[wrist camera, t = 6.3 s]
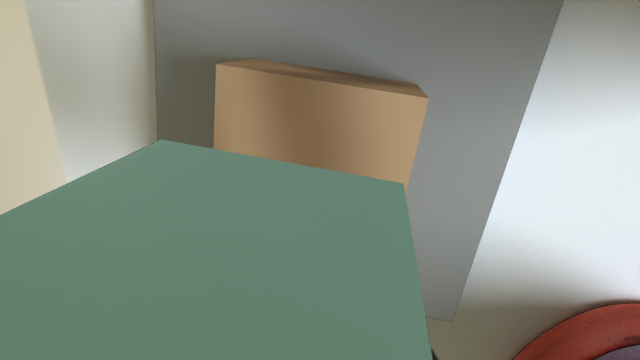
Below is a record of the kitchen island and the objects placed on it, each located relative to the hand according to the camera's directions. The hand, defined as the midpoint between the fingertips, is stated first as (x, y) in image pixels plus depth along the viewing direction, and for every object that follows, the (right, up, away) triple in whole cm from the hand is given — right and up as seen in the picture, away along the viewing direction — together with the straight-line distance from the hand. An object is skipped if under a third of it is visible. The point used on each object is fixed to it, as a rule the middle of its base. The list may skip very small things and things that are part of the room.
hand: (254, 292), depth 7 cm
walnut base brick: (+1, +4, +10) cm, 10 cm away
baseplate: (+2, +4, +10) cm, 11 cm away
